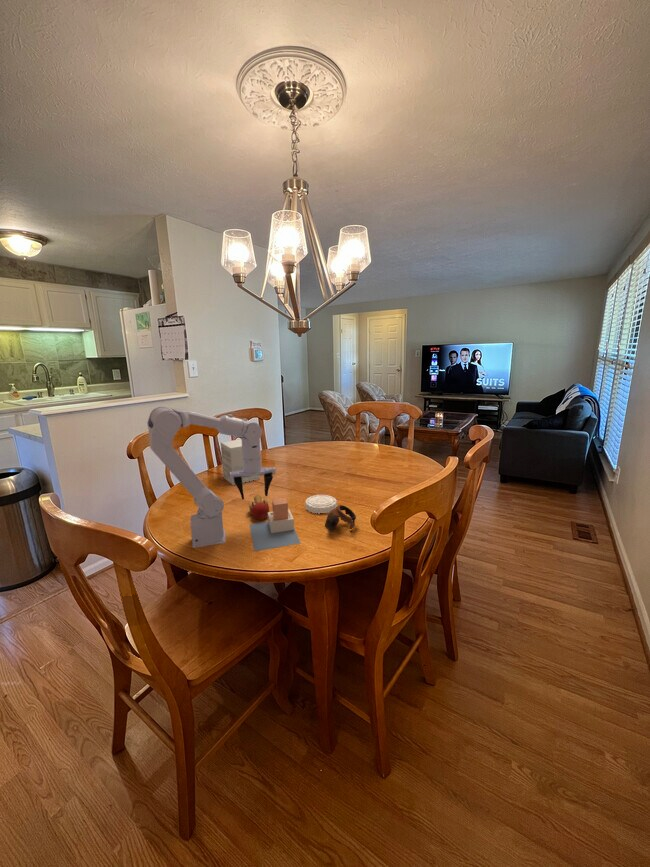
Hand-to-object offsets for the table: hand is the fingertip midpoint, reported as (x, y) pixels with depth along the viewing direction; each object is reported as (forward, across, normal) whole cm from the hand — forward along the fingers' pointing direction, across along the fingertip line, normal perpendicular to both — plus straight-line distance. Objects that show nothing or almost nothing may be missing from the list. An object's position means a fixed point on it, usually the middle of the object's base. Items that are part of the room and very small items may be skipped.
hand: (254, 496), depth 113 cm
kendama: (+11, +2, +10) cm, 15 cm away
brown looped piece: (+11, +26, -11) cm, 30 cm away
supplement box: (+11, -2, +48) cm, 49 cm away
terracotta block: (+7, +8, -4) cm, 11 cm away
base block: (+10, +8, -4) cm, 13 cm away
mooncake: (+11, +25, +6) cm, 28 cm away
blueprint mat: (+10, +5, -8) cm, 14 cm away
